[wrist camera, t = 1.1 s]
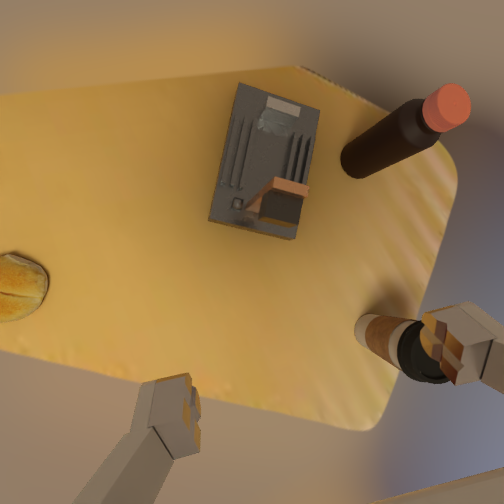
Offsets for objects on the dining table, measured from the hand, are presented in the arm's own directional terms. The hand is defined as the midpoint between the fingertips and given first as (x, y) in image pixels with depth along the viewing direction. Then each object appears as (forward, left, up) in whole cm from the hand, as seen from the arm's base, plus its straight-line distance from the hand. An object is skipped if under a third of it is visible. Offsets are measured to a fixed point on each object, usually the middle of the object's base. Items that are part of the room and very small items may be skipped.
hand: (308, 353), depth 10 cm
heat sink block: (-3, +21, -38) cm, 43 cm away
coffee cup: (+29, +7, -38) cm, 48 cm away
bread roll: (-23, -15, -39) cm, 47 cm away
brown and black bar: (+1, +12, -35) cm, 37 cm away
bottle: (+11, +32, -38) cm, 51 cm away
